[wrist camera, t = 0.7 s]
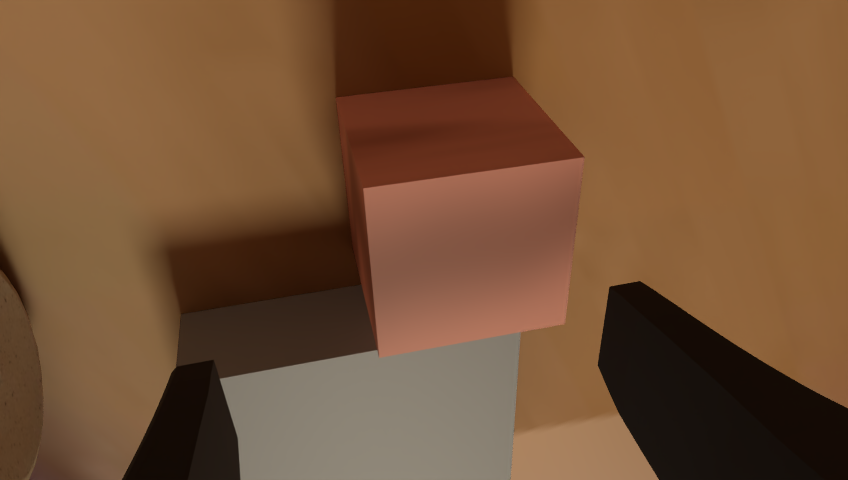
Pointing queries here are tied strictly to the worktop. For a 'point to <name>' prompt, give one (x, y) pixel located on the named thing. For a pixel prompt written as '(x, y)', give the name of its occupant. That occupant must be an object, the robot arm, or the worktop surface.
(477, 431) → the grey block
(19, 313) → the ceramic mug
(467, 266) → the red cube
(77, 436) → the worktop surface
